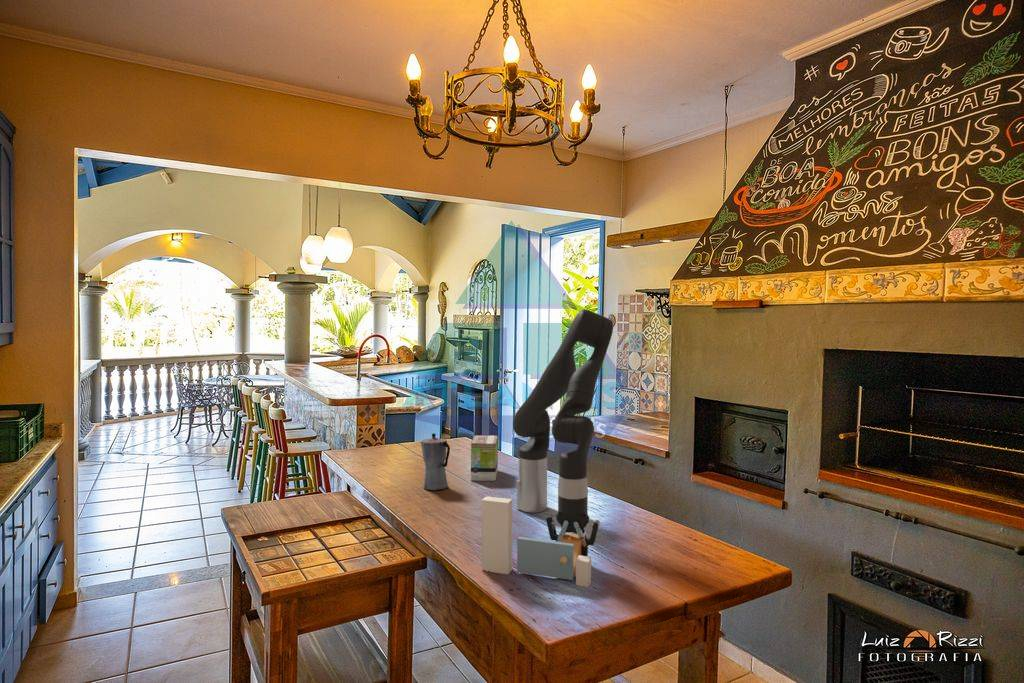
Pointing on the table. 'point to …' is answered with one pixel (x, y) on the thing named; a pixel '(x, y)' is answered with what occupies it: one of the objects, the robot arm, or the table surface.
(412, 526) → the table surface
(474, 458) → the tea box
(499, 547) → the door frame
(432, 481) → the moka pot
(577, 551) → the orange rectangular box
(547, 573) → the door
